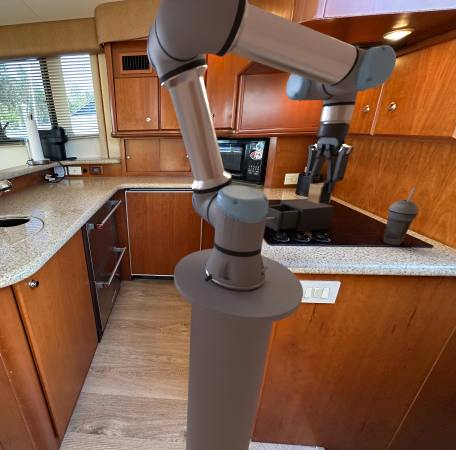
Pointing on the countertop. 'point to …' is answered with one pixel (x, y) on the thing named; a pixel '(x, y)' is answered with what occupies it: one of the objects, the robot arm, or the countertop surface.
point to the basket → (282, 217)
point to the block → (316, 192)
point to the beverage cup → (399, 220)
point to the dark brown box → (311, 214)
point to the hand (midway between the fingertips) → (317, 200)
